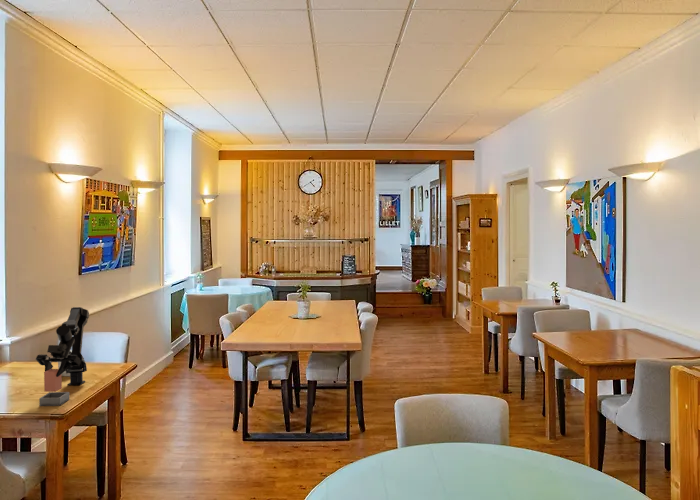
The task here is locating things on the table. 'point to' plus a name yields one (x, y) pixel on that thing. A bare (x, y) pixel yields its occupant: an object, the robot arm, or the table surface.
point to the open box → (54, 399)
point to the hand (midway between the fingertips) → (51, 376)
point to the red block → (52, 381)
